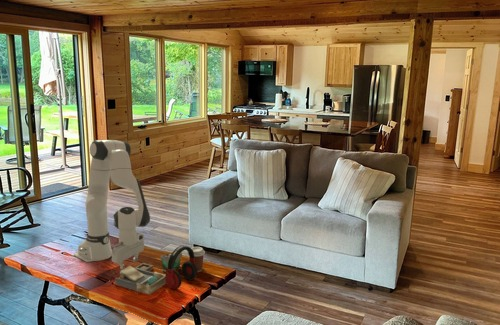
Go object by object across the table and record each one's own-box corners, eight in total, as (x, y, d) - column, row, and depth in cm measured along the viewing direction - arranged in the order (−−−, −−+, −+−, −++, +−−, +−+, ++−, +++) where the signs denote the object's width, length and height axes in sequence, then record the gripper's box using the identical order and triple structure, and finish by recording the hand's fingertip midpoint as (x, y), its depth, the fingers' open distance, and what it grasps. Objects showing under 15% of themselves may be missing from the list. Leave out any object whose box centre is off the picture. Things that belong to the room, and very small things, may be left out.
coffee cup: (198, 274, 214) (198, 253, 211) (184, 270, 218) (184, 250, 216) (208, 268, 221) (208, 248, 219) (195, 264, 226) (194, 244, 224)
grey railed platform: (115, 284, 201) (114, 278, 201) (134, 273, 214) (134, 267, 213) (136, 290, 195) (136, 284, 195) (155, 279, 208) (155, 273, 207)
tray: (136, 290, 195) (136, 283, 195) (155, 279, 208) (154, 271, 207) (149, 294, 192) (149, 287, 191) (167, 282, 204) (167, 275, 204)
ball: (152, 290, 197) (154, 282, 195) (144, 285, 199) (147, 277, 197) (158, 286, 201) (161, 278, 200) (151, 280, 203) (153, 273, 201)
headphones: (177, 293, 194) (176, 255, 190) (162, 287, 199) (161, 250, 195) (200, 279, 208) (200, 243, 205) (185, 274, 214) (185, 239, 210)
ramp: (120, 277, 204) (119, 270, 203) (129, 272, 210) (129, 265, 209) (135, 282, 200) (134, 274, 199) (144, 276, 206) (144, 269, 205)
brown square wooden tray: (134, 271, 216) (134, 267, 216) (143, 266, 222) (143, 262, 222) (144, 274, 213) (144, 270, 213) (153, 268, 219) (153, 265, 219)
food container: (164, 276, 211) (164, 258, 209) (160, 272, 216) (159, 254, 214) (185, 271, 218) (185, 253, 216) (181, 266, 223) (181, 250, 221)
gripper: (117, 247, 192) (118, 274, 194) (146, 234, 210) (146, 258, 212) (108, 245, 194) (109, 271, 197) (136, 232, 212) (137, 256, 215)
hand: (128, 264), depth 205 cm, fingers open, 8 cm apart
